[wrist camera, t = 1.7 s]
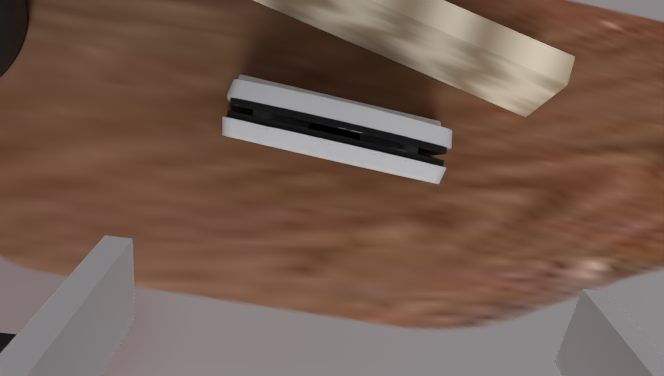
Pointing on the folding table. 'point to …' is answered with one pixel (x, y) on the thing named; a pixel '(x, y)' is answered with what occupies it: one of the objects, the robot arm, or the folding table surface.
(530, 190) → the folding table surface
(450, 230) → the folding table surface
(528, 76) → the bench stop
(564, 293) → the folding table surface
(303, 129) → the white black rounded case
